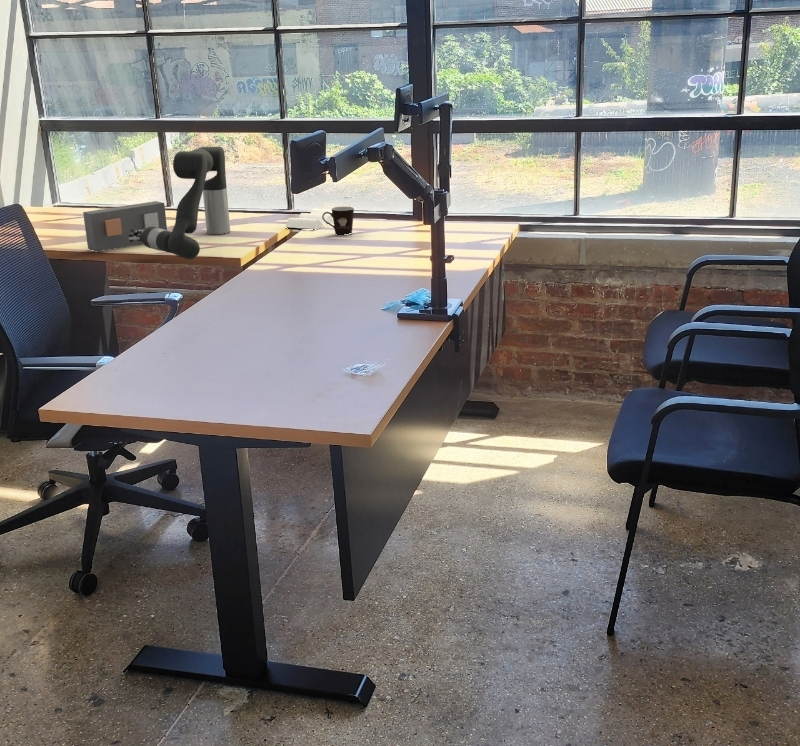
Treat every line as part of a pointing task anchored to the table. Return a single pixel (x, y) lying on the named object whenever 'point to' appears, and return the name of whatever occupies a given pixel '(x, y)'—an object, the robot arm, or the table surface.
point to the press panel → (129, 220)
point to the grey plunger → (150, 220)
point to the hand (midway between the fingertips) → (132, 232)
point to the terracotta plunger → (113, 227)
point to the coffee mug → (341, 219)
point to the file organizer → (313, 218)
